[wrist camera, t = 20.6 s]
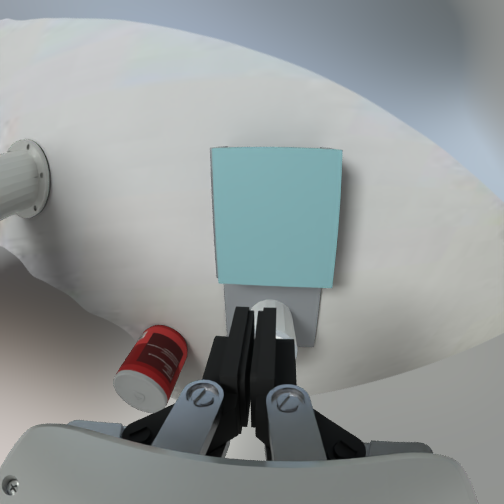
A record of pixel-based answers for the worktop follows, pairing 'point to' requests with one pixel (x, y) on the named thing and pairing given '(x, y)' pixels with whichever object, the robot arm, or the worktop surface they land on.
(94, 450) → the robot arm
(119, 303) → the worktop surface
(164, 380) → the canned food
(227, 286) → the mat
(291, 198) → the panel
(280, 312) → the shot glass
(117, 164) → the worktop surface
